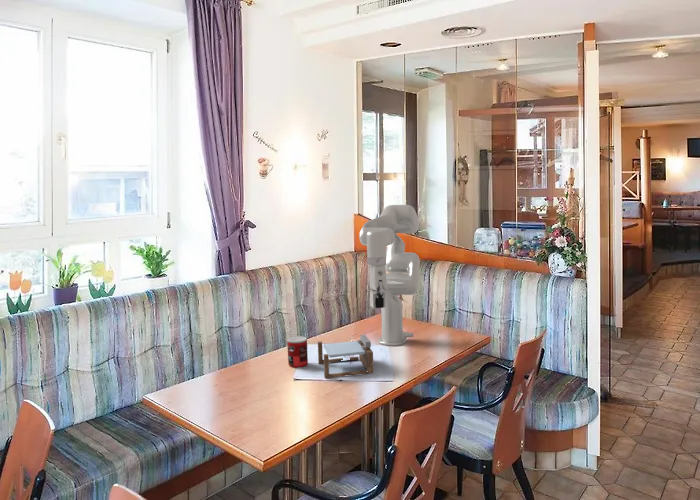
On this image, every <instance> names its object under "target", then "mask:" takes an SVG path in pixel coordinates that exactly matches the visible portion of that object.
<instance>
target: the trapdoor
mask: <svg viewBox="0 0 700 500" xmlns="http://www.w3.org/2000/svg"><path fill="white" fill-rule="evenodd" d="M359 337H360V339H358V340H356V341H355V340H353V341H345V342H344V341H343V342H335V343H324V344H323V348H324V349H325V351H326V354H328V357H329V359H332V358H339V357H340V358H341V357H348V356H349V357H351V356H358V355H360V354H365V351H364V349H363V348H370V349H371V347H372V346H371V345H372V343H371V340H370V338H368V336H367V335H366V334H361V335H360V336H359ZM359 342H362V343H363V344H364V345H365V346H361V345H360V344H359Z"/></svg>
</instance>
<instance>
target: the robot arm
mask: <svg viewBox="0 0 700 500" xmlns="http://www.w3.org/2000/svg"><path fill="white" fill-rule="evenodd" d="M419 219H420V218H419V217H418V214H417V212H416V210H415V208H414V207H413V206H412V205H410V204H391V205H387V206H385V207H384V209H383V210H382V212H381V213H380V215H379V216H378V217H375V218H373V219H370V220H368V221H366V222H365V223H364V224H363V225H362V227H361V229H360V231H359V236H358V238H359V242H360V244H361V245H363V246H366V254H367V258H366V259H367V266H368V267H369V276H368V277H369V286H370V288H371V291H376V298H375V304H376V308H375V309H380V310H381V317H380V318H381V336H380V337H379V338H378V343H379V344H380V345H383V346H391V347H393V346H401V345H404V344H406V343H407V338H413V337H414V333H413V332H409V331H406V332H404V325H403V321H404V320H403V314H404V313H403V303H402V300H401V299H400V297H399V296H414V295H416V294H417V292H418V288H419V280H420V279H419V278H420V265H421V264H420V263H421V262H420V257H419V255H418V254H417V253H415V252H405V251H406V244H405V242H404V241H403V239H402V238H401V237H400V236H399V235H398V234H415V233H417V232H418V230H419V229H420V228H419V227H420V220H419ZM378 292H379V293H378ZM384 292H385V308H383V307H384V298H383V297H384V296H383V293H384Z"/></svg>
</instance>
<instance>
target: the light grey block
mask: <svg viewBox="0 0 700 500" xmlns="http://www.w3.org/2000/svg"><path fill="white" fill-rule="evenodd" d="M378 293H379V292H378ZM383 296H384V297H383V298H384V307H383V308H385V292H384V293H383ZM375 298H376V291H372V290H371V291H369V304H370V306H369V307H371V308H372V309H374V310H376V309H377V308H376V304H375Z"/></svg>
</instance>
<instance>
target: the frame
mask: <svg viewBox="0 0 700 500" xmlns="http://www.w3.org/2000/svg"><path fill="white" fill-rule="evenodd" d="M359 344H360V345H361V346H365V345H364V344H363V343H362V342H359ZM363 349H364V351H365V354H360V355H359V356H349V357H350V360H355V361H360V363H361V362H362V363H361V365H364V366H363V368H364V369H365V368H366V369H365V370H356V371H353V370H352V371H345V372H335V373H330V363H329V362H333V363H338V362H337V361H341V360H343V358H344V357H340V358H339V357H336V358H329V355H328V353H324V354H323V352H324V351H323V342H322V341H317V355H318V358H317V362H318V365H323V367H324V368H323V375H324V379H330V378H338V377H337V376H342V377H346V376H345V375H352V376H357V375H356V374H362V375H368V373H370V374H374V351H373V350H372V349H371V348H363ZM359 359H360V360H359ZM367 371H368V372H367Z"/></svg>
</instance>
